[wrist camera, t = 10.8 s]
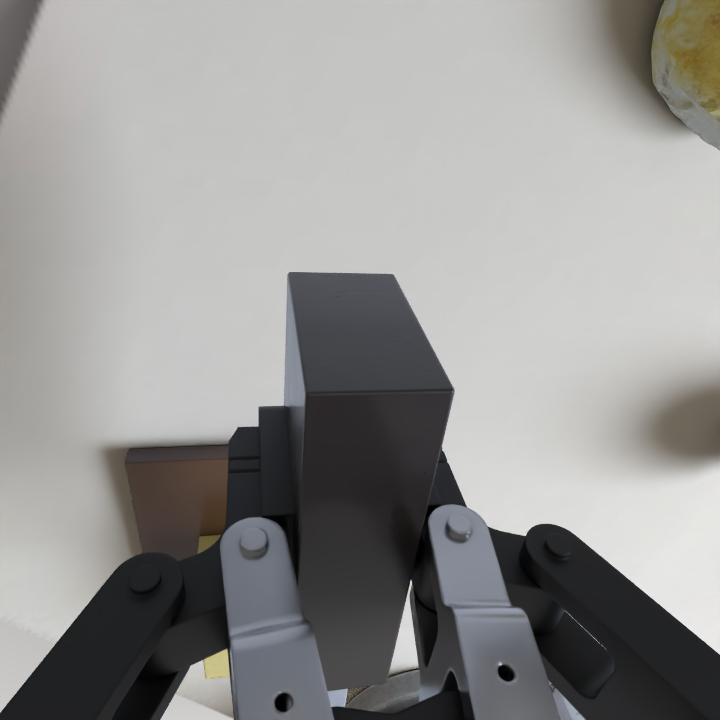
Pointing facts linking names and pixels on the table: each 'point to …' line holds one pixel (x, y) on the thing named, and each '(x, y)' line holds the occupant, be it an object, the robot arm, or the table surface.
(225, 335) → the table surface
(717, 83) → the bread roll
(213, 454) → the board
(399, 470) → the knife
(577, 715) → the small box
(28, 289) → the table surface
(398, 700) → the webcam
